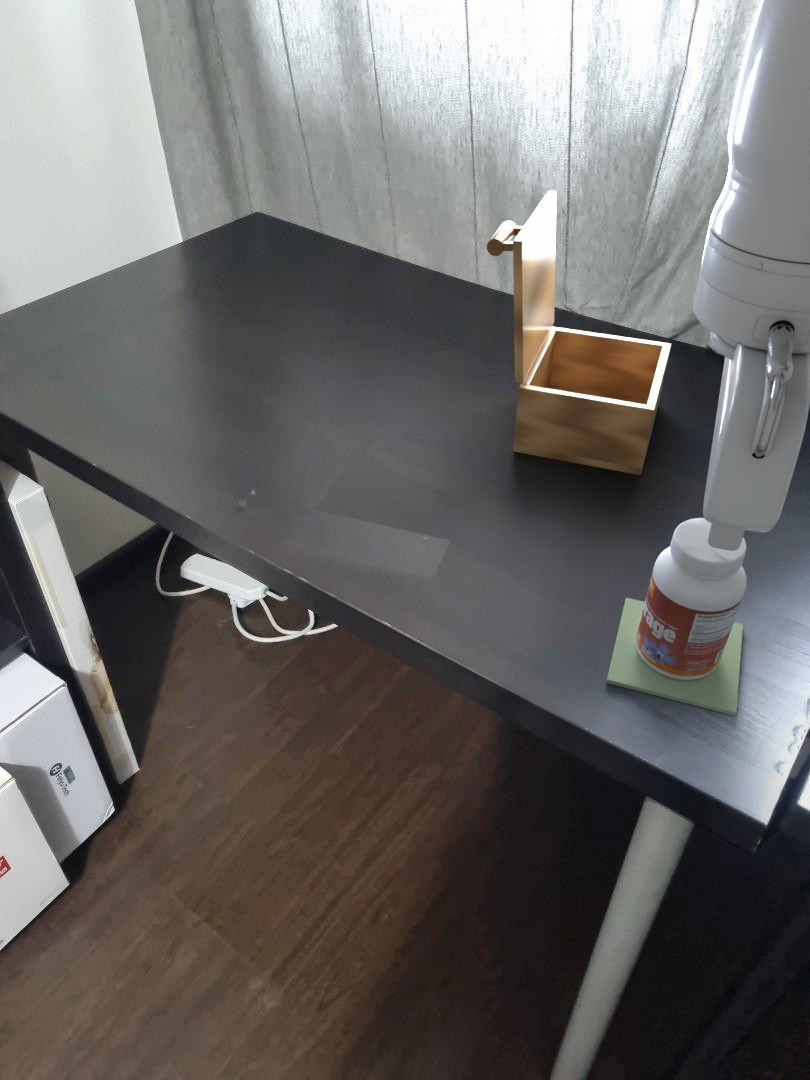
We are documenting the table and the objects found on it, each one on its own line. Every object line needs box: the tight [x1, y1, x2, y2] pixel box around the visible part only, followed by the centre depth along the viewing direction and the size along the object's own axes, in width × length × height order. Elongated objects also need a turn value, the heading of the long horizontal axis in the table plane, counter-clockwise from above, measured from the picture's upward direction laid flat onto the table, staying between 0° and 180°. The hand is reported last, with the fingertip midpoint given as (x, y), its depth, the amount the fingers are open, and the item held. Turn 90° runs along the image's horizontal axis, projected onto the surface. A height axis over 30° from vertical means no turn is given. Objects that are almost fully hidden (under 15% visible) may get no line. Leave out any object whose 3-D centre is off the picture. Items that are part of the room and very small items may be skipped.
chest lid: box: [486, 190, 557, 384], centre depth 79 cm, size 13×14×4 cm
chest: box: [513, 326, 672, 476], centre depth 84 cm, size 13×14×7 cm
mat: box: [606, 597, 744, 717], centre depth 62 cm, size 9×9×1 cm
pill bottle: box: [636, 517, 748, 680], centre depth 58 cm, size 6×6×11 cm
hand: (728, 495), depth 52 cm, fingers open, 8 cm apart
